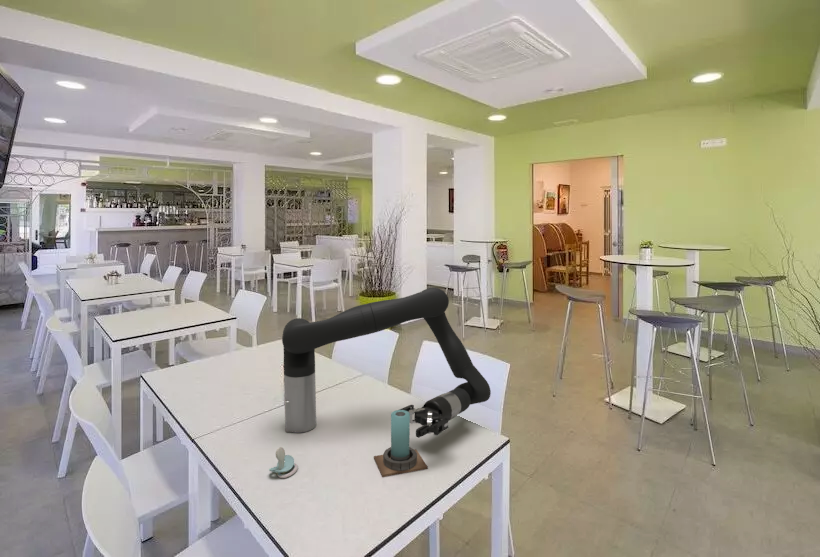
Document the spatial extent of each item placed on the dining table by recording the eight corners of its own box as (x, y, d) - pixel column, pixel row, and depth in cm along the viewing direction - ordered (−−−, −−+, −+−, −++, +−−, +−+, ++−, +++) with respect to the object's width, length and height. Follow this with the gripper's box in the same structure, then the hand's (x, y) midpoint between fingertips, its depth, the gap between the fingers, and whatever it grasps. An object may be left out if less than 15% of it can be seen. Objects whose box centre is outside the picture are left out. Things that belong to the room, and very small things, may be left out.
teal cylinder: (393, 467, 111) (393, 419, 109) (388, 457, 115) (388, 411, 114) (412, 464, 112) (412, 416, 111) (406, 454, 117) (406, 408, 115)
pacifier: (302, 466, 113) (282, 462, 114) (302, 443, 112) (282, 439, 113) (287, 482, 106) (265, 477, 107) (287, 458, 105) (265, 454, 106)
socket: (382, 477, 108) (382, 467, 107) (373, 458, 116) (373, 449, 116) (427, 468, 112) (427, 459, 111) (416, 451, 120) (416, 442, 120)
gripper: (423, 389, 130) (385, 407, 118) (463, 403, 121) (425, 423, 109) (423, 413, 131) (385, 433, 119) (462, 428, 122) (425, 451, 110)
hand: (404, 428), depth 114 cm, fingers open, 8 cm apart
